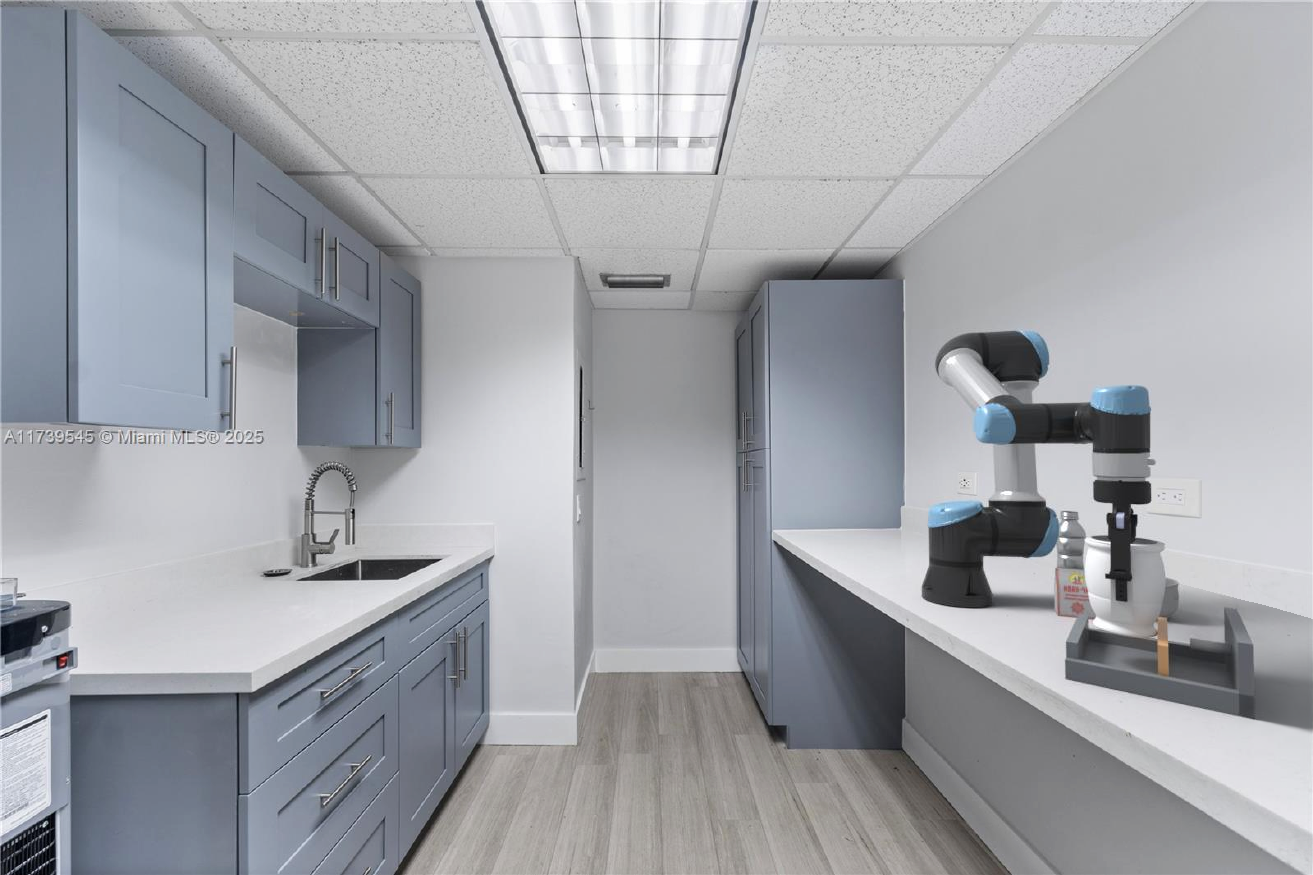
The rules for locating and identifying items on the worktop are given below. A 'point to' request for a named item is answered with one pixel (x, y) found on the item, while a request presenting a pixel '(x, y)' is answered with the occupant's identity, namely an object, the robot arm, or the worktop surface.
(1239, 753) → the worktop surface
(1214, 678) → the tray
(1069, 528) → the plastic bottle
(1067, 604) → the white red carton
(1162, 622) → the plate
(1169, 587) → the teacup
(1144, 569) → the jar
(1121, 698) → the worktop surface
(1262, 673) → the worktop surface
